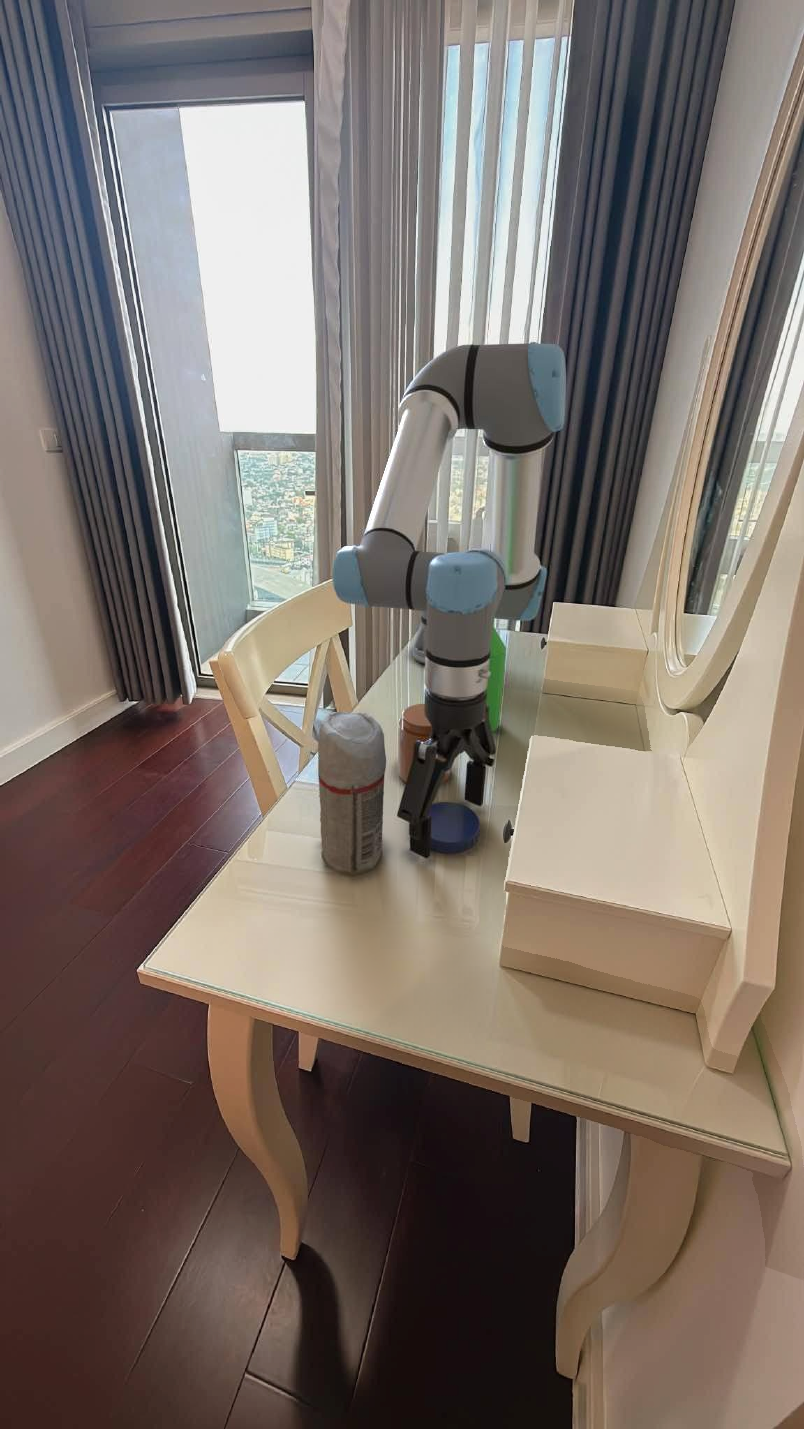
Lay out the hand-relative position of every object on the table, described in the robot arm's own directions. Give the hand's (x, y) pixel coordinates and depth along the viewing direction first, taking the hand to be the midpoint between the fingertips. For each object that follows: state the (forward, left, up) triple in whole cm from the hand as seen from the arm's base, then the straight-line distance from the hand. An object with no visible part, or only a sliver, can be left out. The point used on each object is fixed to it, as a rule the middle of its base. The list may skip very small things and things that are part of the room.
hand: (448, 826), depth 78 cm
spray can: (+8, -11, -1) cm, 14 cm away
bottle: (-30, -2, -1) cm, 30 cm away
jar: (-13, -7, -1) cm, 15 cm away
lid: (0, 0, +1) cm, 1 cm away
